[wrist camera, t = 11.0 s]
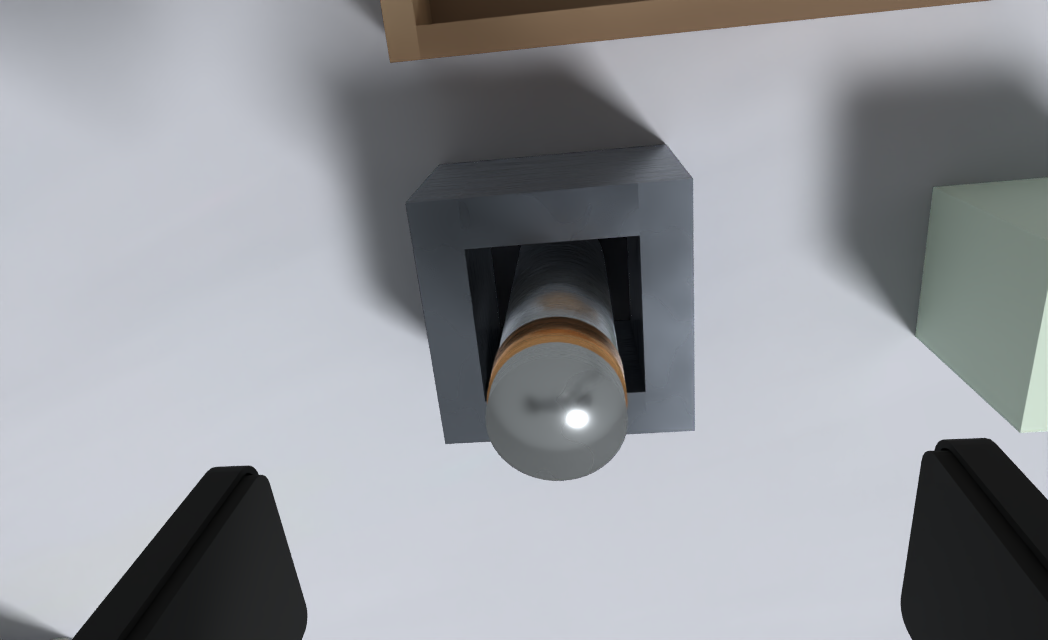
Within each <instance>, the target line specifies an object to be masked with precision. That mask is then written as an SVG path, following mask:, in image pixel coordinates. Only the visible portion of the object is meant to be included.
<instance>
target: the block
mask: <svg viewBox="0 0 1048 640" xmlns="http://www.w3.org/2000/svg"><path fill="white" fill-rule="evenodd" d="M406 209H407V215H408V221H409V227H410V233H411V239H412V245H413V251H414V257H415V263H416V270H417V276H418V282H419V288H420V294H421V300H422V306H423V312H424V318H425V324H426V330H427V336H428V342H429V348H430V354H431V360H432V366H433V372H434V378H435V384H436V390H437V396H438V402H439V408H440V414H441V420H442V426H443V432H444V438H445V444H454V443H473V442H491V441H490V438H489V436H488V433H487V428H486V419H485V416H486V408H487V391H488V387H489V382H490V378H491V373H492V368H493V364H494V360H495V357H496V354H497V352H498V350H499V346H500V342H501V337H502V332H503V329H501V326H500V318H499V310H498V301H497V293H496V285H495V277H494V269H493V260H492V252H491V247H500V246H512V245H525V244H538V243H551V242H563V241H576V240H589V239H601V238H614V237H627V248H628V271H629V293H630V316H631V320H621V321H614V327H615V334H616V340H617V347H618V353H619V356H620V358H621V361H622V365H623V371H624V378H625V384H626V391H627V398H628V406H627V415H628V426H627V432H626V434H641V433H659V432H678V431H695V402H694V259H693V178H692V177H691V175H690V174H689V173H688V172H687V170H686V169H685V168H684V166H683V165H682V164H681V163H680V161H679V160H678V159H677V157H676V156H675V155H674V154H673V152H672V151H671V150H670V148H669V147H668V146H667V145H666V144H664V145H653V146H641V147H630V148H619V149H608V150H597V151H586V152H575V153H564V154H553V155H542V156H530V157H519V158H508V159H497V160H486V161H475V162H464V163H453V164H442V165H439V166H438V167H437V168H436V169H435V170H434V171H433V172H432V174H431V175H430V176H429V177H428V178H427V179H426V180H425V181H424V183H423V184H422V185H421V186H420V187H419V188H418V189H417V191H416V192H415V193H414V194H413V195H412V196H411V197H410V199H409V200H408V201H407V202H406Z"/></svg>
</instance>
